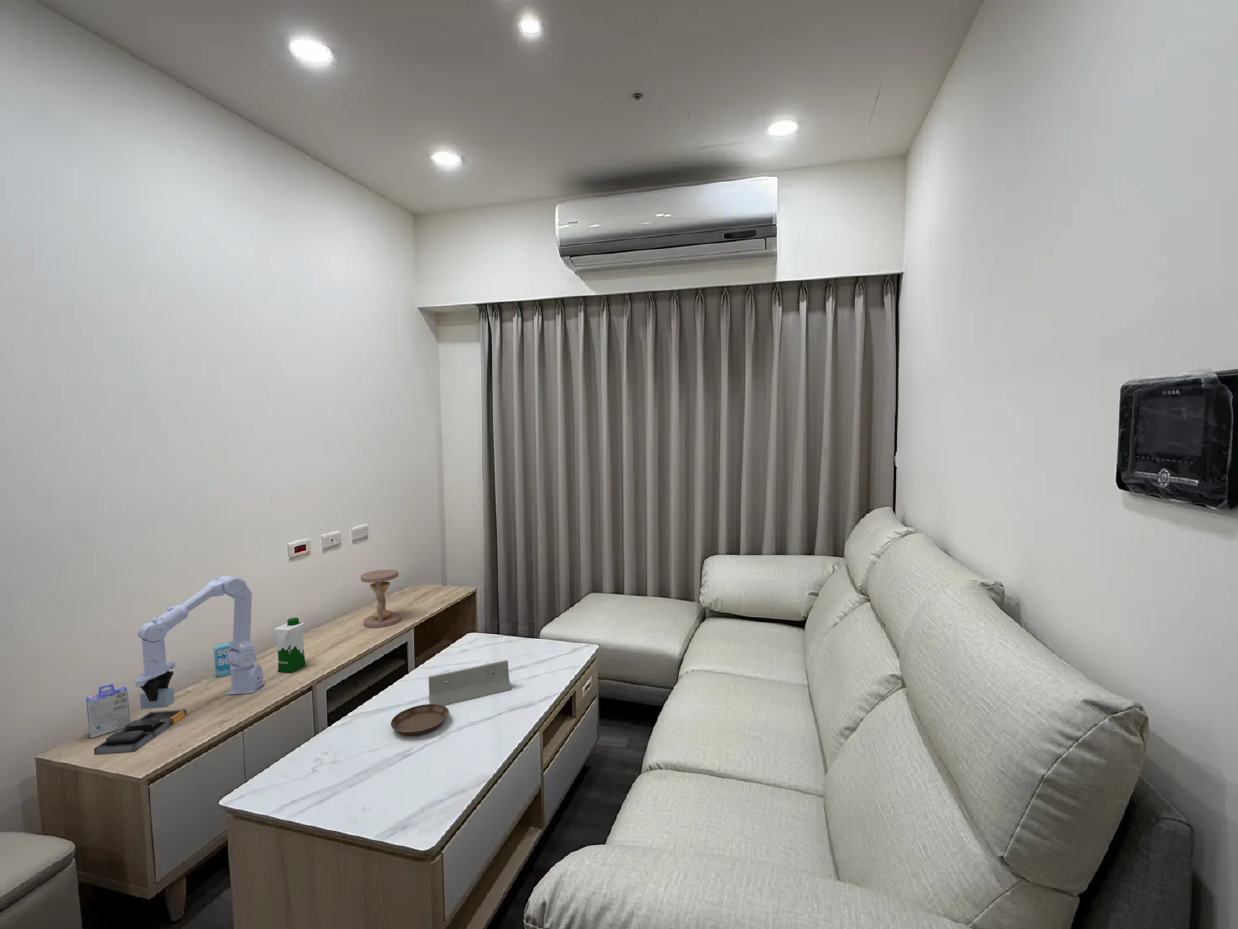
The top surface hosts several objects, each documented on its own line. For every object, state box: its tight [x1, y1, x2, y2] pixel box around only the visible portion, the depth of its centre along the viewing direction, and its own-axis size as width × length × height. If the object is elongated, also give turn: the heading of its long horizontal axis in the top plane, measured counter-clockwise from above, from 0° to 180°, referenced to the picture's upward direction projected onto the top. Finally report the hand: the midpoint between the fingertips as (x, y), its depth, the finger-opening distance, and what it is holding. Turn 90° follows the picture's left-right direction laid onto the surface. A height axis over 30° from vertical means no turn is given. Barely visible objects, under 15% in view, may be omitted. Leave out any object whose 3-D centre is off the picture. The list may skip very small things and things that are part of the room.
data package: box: [213, 640, 233, 678], centre depth 222 cm, size 12×4×12 cm, turn 131°
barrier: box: [427, 659, 512, 707], centre depth 195 cm, size 28×7×10 cm, turn 116°
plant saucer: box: [390, 703, 450, 738], centre depth 175 cm, size 18×18×3 cm
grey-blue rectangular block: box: [139, 687, 175, 710], centre depth 182 cm, size 8×4×5 cm, turn 95°
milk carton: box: [273, 617, 307, 674], centre depth 222 cm, size 9×9×20 cm
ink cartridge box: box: [85, 683, 131, 739], centre depth 179 cm, size 10×6×14 cm, turn 138°
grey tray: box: [93, 709, 187, 755], centre depth 176 cm, size 12×22×4 cm, turn 5°
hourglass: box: [360, 569, 402, 629], centre depth 276 cm, size 18×18×25 cm
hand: (157, 697), depth 183 cm, fingers closed on grey-blue rectangular block, 4 cm apart
